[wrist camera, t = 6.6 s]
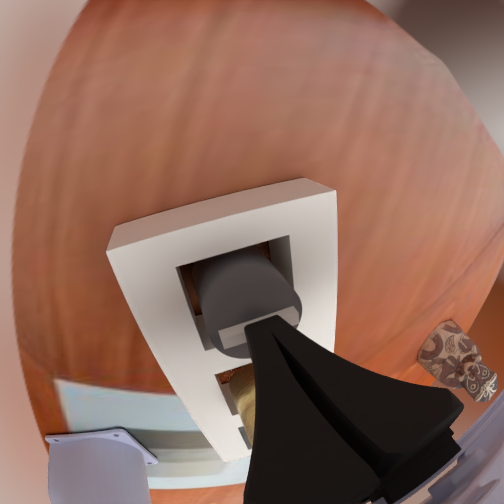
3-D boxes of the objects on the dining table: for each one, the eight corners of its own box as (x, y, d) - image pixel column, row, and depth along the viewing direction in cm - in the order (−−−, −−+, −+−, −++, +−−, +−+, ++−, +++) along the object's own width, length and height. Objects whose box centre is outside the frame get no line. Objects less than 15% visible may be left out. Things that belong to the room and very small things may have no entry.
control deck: (216, 437, 23) (225, 462, 20) (114, 226, 12) (105, 251, 10) (312, 404, 25) (325, 425, 22) (304, 177, 15) (336, 190, 12)
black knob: (202, 311, 16) (224, 377, 11) (183, 248, 14) (199, 308, 9) (268, 290, 16) (308, 347, 12) (259, 227, 15) (305, 274, 10)
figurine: (452, 309, 28) (516, 363, 18) (451, 335, 32) (504, 383, 22) (415, 348, 28) (477, 411, 18) (418, 369, 32) (468, 423, 22)
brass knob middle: (235, 404, 17) (260, 465, 13) (222, 370, 15) (249, 442, 11) (290, 385, 18) (323, 440, 14) (287, 348, 16) (327, 412, 12)
